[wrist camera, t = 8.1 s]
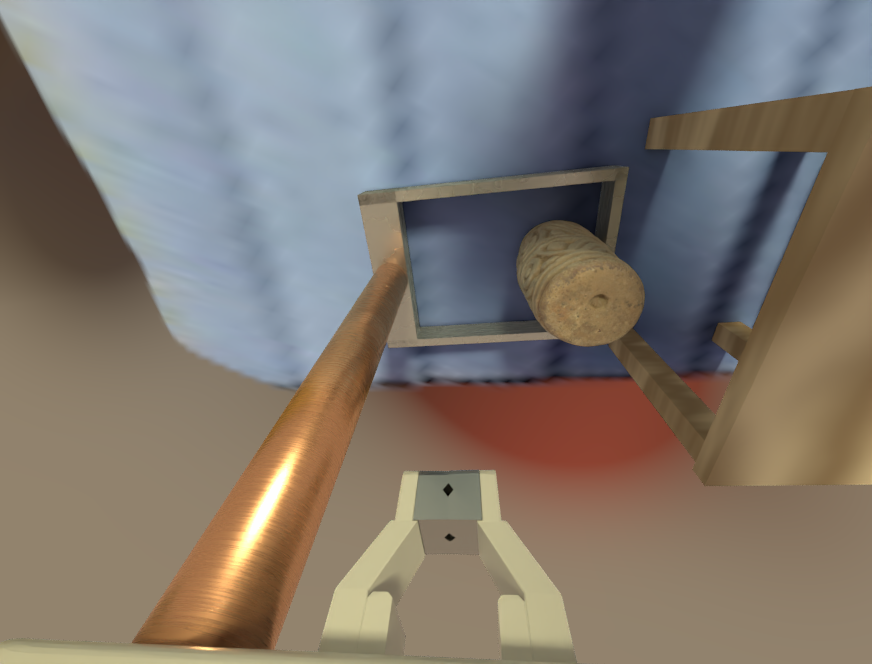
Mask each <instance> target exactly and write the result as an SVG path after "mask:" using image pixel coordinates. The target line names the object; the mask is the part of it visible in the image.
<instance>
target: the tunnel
mask: <svg viewBox="0 0 872 664" xmlns="http://www.w3.org/2000/svg"><path fill="white" fill-rule="evenodd" d="M645 149H674V150H729V151H784V152H828V153H827V156H826V158H825V160H824V163H823V165H822V167H821V170H820V172H819V174H818V177H817V179H816V181H815V184H814V186H813V188H812V191H811V193H810V195H809V198H808V200H807V202H806V205H805V207H804V209H803V212H802V214H801V216H800V219H799V221H798V223H797V226H796V228H795V230H794V233H793V235H792V237H791V240H790V242H789V244H788V247H787V249H786V251H785V254H784V256H783V259H782V261H781V263H780V266H779V268H778V270H777V273H776V275H775V277H774V280H773V282H772V284H771V287H770V289H769V291H768V294H767V296H766V298H765V301H764V303H763V305H762V308H761V310H760V312H759V315H758V317H757V319H756V322H755V324H754V326H753V329H751V328H749V327H748V326H746V325H745V324H743V323H741V322H728V323H718V325H717V327H716V330H715V333H714V336H713V338H712V341H713V342H714V343H716V344H717V345H718V346H720V347H721V348H722V349H724V350H725V351H726V352H727V353H729V354H730V355H731V356H733V357H734V358H735V359H737V360H738V361H739V362H738V364H737V366H736V369H735V371H734V373H733V376H732V378H731V380H730V383H729V385H728V387H727V390H726V392H725V394H724V397H723V399H722V401H721V404H720V406H719V409H718V411H717V413H716V415H715V414H714V413H713V412H712V411H711V410H710V409H709V408H708V407H707V406H706V405H705V404H704V403H703V401H702V400H701V399H700V398H699V397H698V396H697V395H696V394H695V393H694V392H693V391H692V390H691V389H690V388H689V387H688V386H687V385H686V384H685V383H684V382H683V381H682V379H681V378H680V377H679V376H678V375H677V374H676V373H675V372H674V371H673V370H672V369H671V368H670V367H669V366H668V365H667V364H666V363H665V362H664V361H663V360H662V358H661V357H660V356H659V355H658V354H657V353H656V352H655V351H654V350H653V349H652V348H651V347H650V346H649V345H648V344H647V343H646V342H645V341H644V340H643V339H642V338H641V336H640V335H639V334H638V333H637V332H636V331H635V330H634V329H633V328H632V329H631V330H630V331H629V332H628V333H626V334H625V335H624V336H623V337H621V338H620V339H618V340H616V341H614V342H611V343H609V345H608V346H609V347H610V349H611V350H612V351H613V353H614V354H615V355H616V357H617V358H618V359H619V361H620V362H621V363H622V365H623V366H624V367H625V369H626V370H627V371H628V373H629V374H630V375H631V377H632V378H633V379H634V381H635V382H636V383H637V385H638V386H639V387H640V388H641V390H642V391H643V393H644V394H645V395H646V397H647V398H648V399H649V401H650V402H651V403H652V404H653V406H654V407H655V408H656V410H657V411H658V413H659V414H660V415H661V417H662V418H663V419H664V421H665V422H666V423H667V425H668V426H669V427H670V429H671V430H672V431H673V433H674V434H675V435H676V436H677V438H678V439H679V441H680V442H681V443H682V445H683V446H684V447H685V449H686V450H687V451H688V453H689V454H690V455H691V456H692V458H693V459H694V461H695V464H694V467H693V471H694V472H695V473H696V475H697V476H698V477H699V479H700V480H701V481H702V483H703V484H704V486H747V485H749V486H752V485H753V486H754V485H857V484H858V485H860V484H861V485H863V484H865V485H867V484H872V87H866V88H859V89H854V90H847V91H840V92H833V93H826V94H819V95H812V96H805V97H798V98H791V99H784V100H777V101H770V102H762V103H755V104H748V105H741V106H734V107H727V108H720V109H713V110H706V111H699V112H692V113H685V114H678V115H671V116H664V117H657V118H651V119H650V124H649V130H648V135H647V140H646V146H645Z"/></svg>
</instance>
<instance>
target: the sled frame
mask: <svg viewBox="0 0 872 664" xmlns="http://www.w3.org/2000/svg"><path fill="white" fill-rule="evenodd" d="M628 170H629V167H625V166H617V165H612V166H603V167H593V168H584V169H574V170H564V171H555V172H545V173H536V174H526V175H516V176H507V177H497V178H488V179H478V180H469V181H459V182H449V183H440V184H430V185H421V186H411V187H401V188H392V189H382V190H373V191H365V192H363V193H361V194H359V195H358V200H359V205H360V210H361V215H362V220H363V225H364V230H365V234H366V239H367V244H368V249H369V254H370V259H371V264H372V269H373V274H374V275H373V276H372V278H371V279H370V281H369V282H368V284H367V285H366V287H365V288H364V290H363V292H362V293H361V295H360V296H359V298H358V299H357V301H356V302H355V304H354V305H353V307H352V308H351V310H350V311H349V313H348V314H347V316H346V317H345V319H344V320H343V322H342V323H341V325H340V326H339V328H338V330H337V331H336V333H335V334H334V336H333V337H332V339H331V340H330V342H329V343H328V345H327V346H326V348H325V349H324V351H323V352H322V354H321V355H320V357H319V358H318V360H317V361H316V363H315V364H314V366H313V368H312V369H311V371H310V372H309V374H308V375H307V377H306V378H305V380H304V381H303V383H302V384H301V386H300V387H299V389H298V390H297V392H296V393H295V395H294V397H293V398H292V399H291V401H290V402H289V404H288V406H287V407H286V409H285V410H284V412H283V413H282V415H281V416H280V418H279V419H278V421H277V422H276V424H275V425H274V427H273V429H272V430H271V432H270V433H269V434H268V436H267V438H266V439H265V440H264V442H263V444H262V445H261V447H260V448H259V450H258V451H257V453H256V454H255V456H254V457H253V459H252V460H251V462H250V463H249V465H248V466H247V468H246V469H245V471H244V473H243V474H242V475H241V477H240V479H239V480H238V482H237V483H236V485H235V486H234V488H233V489H232V491H231V492H230V494H229V495H228V497H227V499H226V500H225V501H224V503H223V504H222V506H221V507H220V509H219V511H218V512H217V513H216V515H215V517H214V518H213V520H212V521H211V523H210V524H209V526H208V527H207V529H206V530H205V532H204V533H203V535H202V536H201V538H200V539H199V541H198V542H197V544H196V545H195V547H194V548H193V550H192V551H191V553H190V555H189V556H188V558H187V559H186V561H185V562H184V564H183V565H182V567H181V568H180V570H179V571H178V573H177V575H176V576H175V577H174V579H173V581H172V582H171V584H170V585H169V586H168V588H167V590H166V591H165V593H164V594H163V596H162V597H161V599H160V600H159V602H158V603H157V605H156V606H155V608H154V609H153V611H152V612H151V614H150V616H149V617H148V618H147V620H146V622H145V623H144V624H143V626H142V628H141V629H140V631H139V632H138V634H137V635H136V637H135V638H134V640H133V641H132V643H138V644H160V645H182V646H204V647H226V648H249V649H271V650H274V648H275V646H276V643H277V640H278V637H279V635H280V632H281V630H282V627H283V624H284V621H285V618H286V616H287V613H288V610H289V608H290V605H291V602H292V599H293V597H294V594H295V591H296V588H297V586H298V583H299V580H300V578H301V575H302V572H303V569H304V566H305V564H306V561H307V558H308V556H309V553H310V550H311V547H312V545H313V542H314V539H315V536H316V534H317V531H318V528H319V526H320V523H321V520H322V517H323V515H324V512H325V509H326V507H327V504H328V501H329V498H330V496H331V493H332V490H333V487H334V485H335V482H336V479H337V476H338V474H339V471H340V468H341V466H342V463H343V460H344V457H345V455H346V452H347V449H348V446H349V444H350V441H351V438H352V435H353V433H354V430H355V427H356V424H357V422H358V419H359V416H360V413H361V410H362V408H363V405H364V403H365V400H366V397H367V394H368V392H369V389H370V386H371V383H372V381H373V378H374V375H375V373H376V370H377V367H378V364H379V362H380V359H381V356H382V353H383V351H384V348H385V345H386V342H387V343H388V348H397V347H416V346H435V345H453V344H472V343H490V342H509V341H528V340H546V339H558V338H556V337H555V336H553V335H551V334H550V333H548V332H547V331H546V330H545V329H544V328H543V327H542V326H541V324H540V323H539V322H538V321H537V320H530V321H513V322H496V323H480V324H463V325H446V326H430V327H420V324H419V317H418V310H417V303H416V296H415V289H414V282H413V275H412V268H411V261H410V254H409V247H408V240H407V233H406V226H405V219H404V212H403V205H402V202H404V201H414V200H424V199H434V198H444V197H454V196H464V195H474V194H484V193H494V192H504V191H514V190H524V189H534V188H544V187H554V186H564V185H574V184H584V183H594V182H602V185H601V193H600V200H599V207H598V215H597V222H596V230H595V237H598V238H599V239H600V240H601V241H602V242H603V243H605V244H606V245H607V246H608V247H609V248H610V249H611V250H612V251H613V252H614V253H615V247H616V241H617V236H618V230H619V224H620V218H621V212H622V206H623V200H624V194H625V188H626V182H627V176H628Z"/></svg>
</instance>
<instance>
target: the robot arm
mask: <svg viewBox="0 0 872 664" xmlns="http://www.w3.org/2000/svg"><path fill="white" fill-rule="evenodd" d="M425 554H467V555H479V557H480V558H481V560H482V562H483V564H484V565H485V568H486V569H487V571H488V573H489V575H490V577H491V578H492V580H493V582H494V584H495V586H496V587H497V589H498V591H499V593H500V595H501V597H500V598H499V600H498V644H499V657H500V658H499V659H500V660H491V659H468V658H448V657H425V656H404V647H405V637H406V636H405V633H404V630H403V627H402V624H401V621H400V618H399V616H398V613H397V610H396V606H397V604H398V603H399V601H400V599H401V597H402V596H403V594H404V592H405V590H406V589H407V587H408V585H409V584H410V582H411V580H412V578H413V577H414V575H415V573H416V571H417V570H418V568H419V566H420V564H421V563H422V561H423V559H424V558H425ZM0 664H580V663H577V661H576V656H575V652H574V648H573V643H572V639H571V635H570V630H569V625H568V621H567V617H566V613H565V608H564V604H563V600H562V595H561V594H560V592H559V591H558V590H557V588H556V587H555V586H554V584H553V583H552V582H551V580H550V579H549V578H548V576H547V575H546V574H545V572H544V571H543V569H542V568H541V567H540V565H539V564H538V563H537V561H536V560H535V559H534V557H533V556H532V555H531V553H530V552H529V551H528V549H527V548H526V547H525V545H524V544H523V543H522V541H521V540H520V539H519V537H518V536H517V535H516V533H515V532H514V531H513V529H512V528H511V527H510V525H509V524H508V522H507V521H501V513H500V505H499V496H498V487H497V478H496V472H495V470H480V471H479V470H457V471H405V472H404V474H403V476H402V482H401V487H400V493H399V499H398V505H397V511H396V517H395V520H391V521H389V523H388V524H387V525H386V527H385V528H384V529H383V530H382V532H381V533H380V534H379V535H378V536H377V538H376V539H375V540H374V541H373V543H372V544H371V545H370V546H369V548H368V549H367V550H366V551H365V553H364V554H363V555H362V556H361V558H360V559H359V560H358V561H357V562H356V564H355V565H354V566H353V567H352V569H351V570H350V571H349V573H348V574H347V575H346V576H345V578H344V579H343V580H342V581H341V582H340V584H339V585H338V586H337V587H336V589H335V592H334V595H333V599H332V603H331V606H330V610H329V613H328V617H327V620H326V624H325V628H324V631H323V634H322V638H321V642H320V645H319V649H318V652H315V651H314V652H313V651H292V650H271V649H249V648H226V647H204V646H182V645H160V644H138V643H116V642H92V641H67V640H47V639H30V638H16V639H9V640H6V641H3V642H1V643H0Z"/></svg>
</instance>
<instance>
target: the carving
mask: <svg viewBox="0 0 872 664" xmlns="http://www.w3.org/2000/svg"><path fill="white" fill-rule="evenodd" d="M516 267H517V279H518V284H519V286H520V289H521V291H522V292H523V294H524V296H525V298H526V300H527V302H528V304H529V307H530V308H531V310H532V312H533V314H534V316H535V318H536V319H537V321H538V322H539V323H540V324H541V326H542V327H543V328H544V329H545V330H546V331H547V332H548V333H550V334H551V335H553V336H555V337H556V338H558V339H560V340H562V341H565V342H567V343H570V344H573V345H577V346H586V347H589V346H598V345H604V344H608V343H611V342H614V341H616V340H618V339H620V338H621V337H623V336H624V335H625V334H626V333H628V332H629V331H630V330H631V329H632V328H633V327H634V325H635V324H636V323H637V321H638V319H639V317H640V315H641V313H642V310H643V307H644V301H645V292H644V286H643V284H642V281H641V279H640V278H639V276H638V274H637V273H636V272H635V271H634V270H633V269H632V268H631V267H630V266H629V265H628V264H627V263H625V262H624V261H622V260H620V259H619V258H618V257H617V256H616V254H615V253H614V252H613V251H612V250H611V249H610V248H609V247H608V246H607V245H606V244H605V243H603V242H602V241H601V240H600V239H599V238H598V237H595V236H594V235H593V234H592V233H591V232H590V231H588V230H587V229H585V228H584V227H582V226H581V225H579V224H577V223H574V222H570V221H564V220H553V221H548V222H544V223H541V224H539V225H537V226H535V227H534V228H533V229H532V230H530V231H529V232H528V233H527V234H526V236H525V237H524V238H523V240H522V242H521V245H520V249H519V254H518V257H517V261H516Z"/></svg>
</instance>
